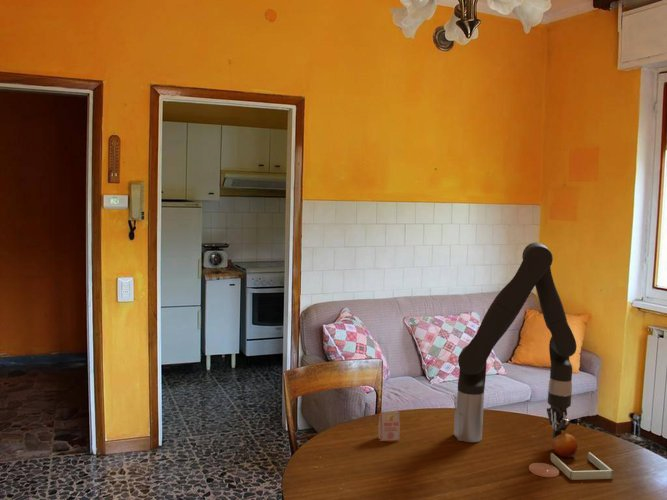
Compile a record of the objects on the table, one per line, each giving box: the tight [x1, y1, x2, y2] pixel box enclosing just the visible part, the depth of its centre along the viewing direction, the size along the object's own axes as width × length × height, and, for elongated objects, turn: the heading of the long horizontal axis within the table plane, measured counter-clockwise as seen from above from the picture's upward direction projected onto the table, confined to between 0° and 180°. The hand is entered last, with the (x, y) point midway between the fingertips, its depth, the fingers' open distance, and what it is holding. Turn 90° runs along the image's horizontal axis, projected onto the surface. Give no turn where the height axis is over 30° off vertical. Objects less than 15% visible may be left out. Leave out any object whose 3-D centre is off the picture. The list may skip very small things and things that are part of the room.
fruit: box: [551, 433, 578, 458], centre depth 207 cm, size 8×8×8 cm
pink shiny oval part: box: [528, 462, 560, 478], centre depth 195 cm, size 9×9×1 cm
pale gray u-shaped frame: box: [550, 451, 614, 481], centre depth 197 cm, size 14×14×2 cm
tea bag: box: [377, 410, 401, 442], centre depth 216 cm, size 4×7×10 cm, turn 98°
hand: (556, 440), depth 213 cm, fingers closed
